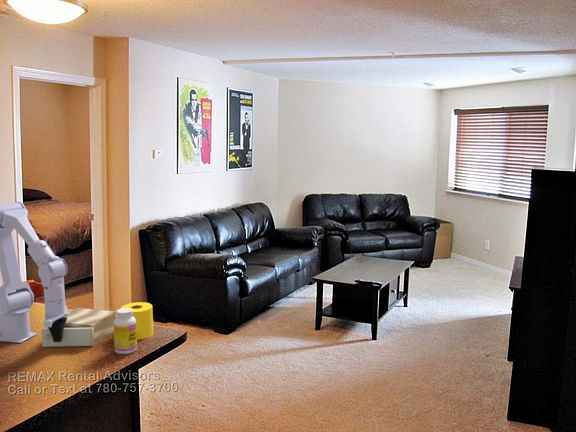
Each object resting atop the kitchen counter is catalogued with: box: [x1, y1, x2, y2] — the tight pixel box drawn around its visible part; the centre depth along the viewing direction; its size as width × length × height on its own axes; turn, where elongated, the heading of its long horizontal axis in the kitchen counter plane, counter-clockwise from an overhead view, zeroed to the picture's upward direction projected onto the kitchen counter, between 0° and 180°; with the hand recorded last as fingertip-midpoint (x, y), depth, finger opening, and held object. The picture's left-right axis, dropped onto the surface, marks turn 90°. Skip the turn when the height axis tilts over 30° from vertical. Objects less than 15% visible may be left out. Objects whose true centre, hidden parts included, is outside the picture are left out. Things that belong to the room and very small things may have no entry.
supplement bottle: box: [113, 307, 138, 355], centre depth 166 cm, size 7×7×13 cm
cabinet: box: [64, 307, 117, 345], centre depth 178 cm, size 15×14×6 cm
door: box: [41, 327, 95, 348], centre depth 168 cm, size 16×2×6 cm, turn 94°
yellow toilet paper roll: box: [120, 301, 154, 341], centre depth 179 cm, size 10×10×9 cm
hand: (57, 341), depth 167 cm, fingers closed
